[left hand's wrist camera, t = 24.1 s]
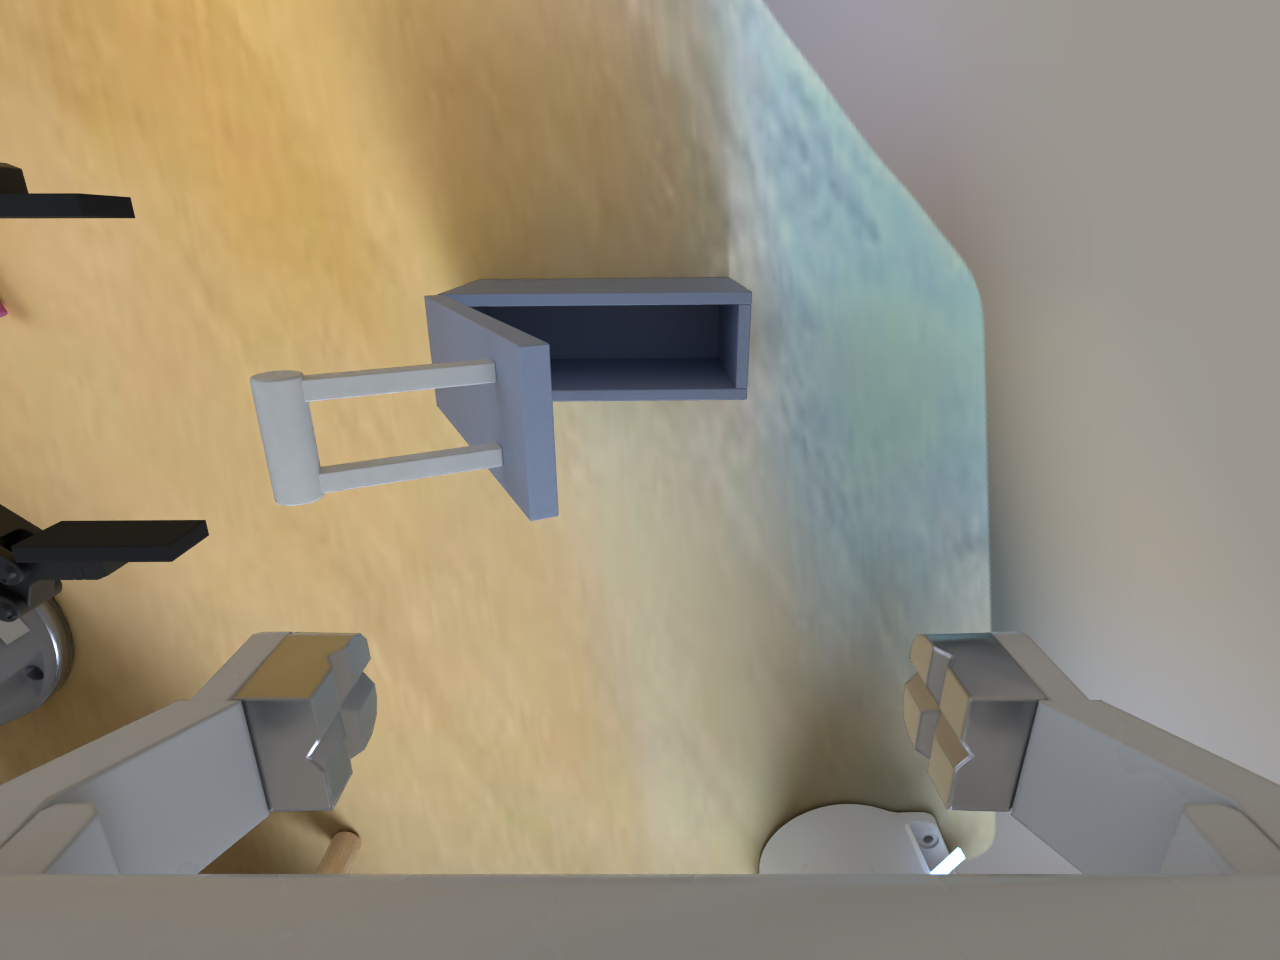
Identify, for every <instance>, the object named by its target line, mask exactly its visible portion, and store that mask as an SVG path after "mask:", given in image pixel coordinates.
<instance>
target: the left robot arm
mask: <svg viewBox="0 0 1280 960" xmlns="http://www.w3.org/2000/svg"><path fill="white" fill-rule="evenodd" d="M370 659H371V658H370V653H369V648H368V643H367V639H366V638H365V637H364V636H363V635H362V634H361V633H317V632H294V633H293V632H260V633H256V634H253V635H252V636H251V637H250V638H249V639H248V640H247V641H246V642H245V643H244V644H243V645H242V646H241V647H240V648H239V650H238V651H237V652H236V653H235V654H234V655H233V656H232V657H231V658H230V659H229V660H228V661H227V662H226V663H225V664H224V665H223V666H222V667H221V668H220V670H219V671H218V672H217V673H216V674H215V675H214V676H213V677H212V678H211V679H210V680H209V681H208V682H207V683H206V684H205V685H204V686H203V687H202V689H201V690H200V691H199V692H198V693H197V694H196V695H195V696H194V697H193V698H192V699H191V700H178V701H176V702H174V703H172V704H170V705H168V706H166V707H164V708H162V709H159V710H157V711H155V712H153V713H151V714H149V715H147V716H145V717H143V718H140V719H138V720H136V721H134V722H132V723H130V724H128V725H126V726H124V727H121V728H119V729H117V730H115V731H113V732H111V733H109V734H107V735H105V736H102V737H100V738H98V739H96V740H94V741H92V742H90V743H88V744H86V745H83V746H81V747H79V748H77V749H75V750H73V751H71V752H69V753H67V754H64V755H62V756H60V757H58V758H56V759H54V760H52V761H50V762H48V763H45V764H43V765H41V766H39V767H37V768H35V769H33V770H31V771H29V772H26V773H24V774H22V775H20V776H18V777H16V778H14V779H12V780H10V781H7V782H5V783H3V784H1V785H0V960H1280V785H1278V784H1276V783H1274V782H1272V781H1270V780H1268V779H1266V778H1264V777H1261V776H1259V775H1257V774H1255V773H1253V772H1251V771H1249V770H1247V769H1245V768H1243V767H1240V766H1238V765H1236V764H1234V763H1232V762H1230V761H1228V760H1226V759H1224V758H1222V757H1219V756H1217V755H1215V754H1213V753H1211V752H1209V751H1207V750H1205V749H1203V748H1200V747H1198V746H1196V745H1194V744H1192V743H1190V742H1188V741H1186V740H1184V739H1182V738H1179V737H1177V736H1175V735H1173V734H1171V733H1169V732H1167V731H1165V730H1163V729H1160V728H1158V727H1156V726H1154V725H1152V724H1150V723H1148V722H1146V721H1144V720H1141V719H1139V718H1137V717H1135V716H1133V715H1131V714H1129V713H1127V712H1125V711H1123V710H1120V709H1118V708H1116V707H1114V706H1112V705H1110V704H1108V703H1106V702H1104V701H1102V700H1089V699H1088V698H1087V697H1086V696H1085V695H1084V694H1083V693H1082V692H1081V691H1080V689H1079V688H1078V687H1077V686H1076V685H1075V684H1074V683H1073V682H1072V681H1071V680H1070V679H1069V678H1068V677H1067V676H1066V675H1065V674H1064V673H1063V672H1062V670H1061V669H1060V668H1059V667H1058V666H1057V665H1056V664H1055V663H1054V662H1053V661H1052V660H1051V659H1050V658H1049V657H1048V656H1047V655H1046V654H1045V653H1044V651H1043V650H1042V649H1041V648H1040V647H1039V646H1038V645H1037V644H1036V643H1035V642H1034V641H1033V640H1032V639H1031V638H1030V637H1029V636H1028V635H1026V634H1024V633H1022V632H1019V631H1015V632H988V633H962V634H917V635H916V637H915V639H914V641H913V643H912V646H911V652H910V657H909V659H910V660H911V662H912V664H913V665H914V667H915V669H916V670H917V672H916V673H915V674H914V675H913V676H912V677H911V678H910V679H909V681H908V682H907V683H906V684H905V689H904V697H903V711H904V722H905V725H906V729H907V732H908V735H909V738H910V740H911V742H912V744H913V746H914V748H915V749H916V750H917V751H919V752H920V753H922V754H923V755H924V756H926V757H927V758H929V759H930V761H929V767H928V775H929V777H930V778H931V780H932V782H933V784H934V786H935V788H936V790H937V792H938V793H939V795H940V797H941V799H942V801H943V803H944V805H945V807H946V808H947V810H963V811H999V812H1011V815H1012V816H1013V817H1014V818H1015V819H1016V820H1018V821H1019V822H1020V823H1021V824H1023V825H1024V826H1025V827H1026V828H1027V829H1029V830H1030V831H1031V832H1032V833H1034V834H1035V835H1036V836H1037V837H1038V838H1040V839H1041V840H1042V841H1043V842H1045V843H1046V844H1047V845H1048V846H1050V847H1051V848H1052V849H1053V850H1054V851H1056V852H1057V853H1058V854H1059V855H1061V856H1062V857H1063V858H1064V859H1065V860H1067V861H1068V862H1069V863H1070V864H1072V865H1073V866H1074V867H1075V868H1076V869H1078V870H1079V871H1080V872H1081V873H1083V874H958V873H957V871H956V868H955V867H956V866H957V865H958V864H959V863H960V862H961V861H962V860H964V859H965V856H964V855H963V853H962V851H961V849H960V848H957V849H955V850H954V851H953V852H952V853H951V854H949V851H948V849H947V847H946V844H945V842H944V839H943V837H942V835H941V832H940V830H939V827H938V825H937V822H936V820H935V818H934V817H933V816H932V815H931V814H929V813H925V812H902V813H896V812H891V811H887V810H883V809H880V808H877V807H873V806H868V805H861V804H837V805H830V806H825V807H821V808H817V809H814V810H811V811H808V812H806V813H804V814H801V815H799V816H797V817H796V818H794V819H792V820H791V821H789V822H788V823H786V824H785V825H784V826H782V827H781V828H780V829H779V830H778V831H777V832H776V833H775V834H774V835H773V836H772V837H771V839H770V840H769V841H768V843H767V844H766V846H765V848H764V850H763V853H762V855H761V859H760V864H759V874H198V873H199V872H200V871H201V870H203V869H204V868H205V867H206V866H207V865H209V864H210V863H211V862H212V861H214V860H215V859H216V858H217V857H218V856H220V855H221V854H222V853H223V852H225V851H226V850H227V849H228V848H230V847H231V846H232V845H233V844H234V843H236V842H237V841H238V840H239V839H241V838H242V837H243V836H244V835H245V834H247V833H248V832H249V831H250V830H252V829H253V828H254V827H255V826H257V825H258V824H259V823H260V822H261V821H263V820H264V819H265V818H266V817H268V816H269V812H280V811H315V810H333V809H334V807H335V805H336V803H337V801H338V799H339V797H340V795H341V794H342V792H343V790H344V788H345V786H346V784H347V782H348V780H349V778H350V777H351V775H352V767H351V761H350V759H351V758H353V757H354V756H356V755H357V754H358V753H360V752H361V751H363V750H364V749H365V748H366V746H367V744H368V742H369V740H370V738H371V735H372V733H373V728H374V724H375V720H376V715H377V695H376V688H375V684H374V683H373V682H372V681H371V679H370V678H369V677H368V676H367V675H366V674H365V673H364V672H363V670H364V669H365V667H366V665H367V664H368V662H369V661H370Z"/></svg>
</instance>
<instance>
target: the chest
mask: <svg viewBox="0 0 1280 960" xmlns="http://www.w3.org/2000/svg"><path fill="white" fill-rule="evenodd" d="M438 295H444V296H446V297H449V298H451V299H453V300H455V301H457V302H460V303H462V304H464V305H466V306H468V307H470V308H473V309H475V310H477V311H479V312H481V313H483V314H486V315H488V316H490V317H492V318H494V319H496V320H499V321H501V322H503V323H505V324H507V325H509V326H512V327H514V328H516V329H518V330H520V331H523V332H525V333H527V334H529V335H531V336H533V337H536V338H538V339H540V340H542V341H544V342H546V343H549V349H550V368H551V386H552V401H650V400H746V399H747V383H748V362H749V341H750V319H751V300H752V292H751V291H750V290H748V289H746V288H745V287H743V286H742V285H740V284H739V283H737V282H735V281H734V280H732V279H731V278H729V277H701V278H588V279H479V280H476V281H474V282H471V283H468V284H465V285H462V286H460V287H457V288H454V289H451V290H449V291H446V292H443V293H440V294H438Z"/></svg>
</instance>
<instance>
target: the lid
mask: <svg viewBox="0 0 1280 960" xmlns="http://www.w3.org/2000/svg"><path fill="white" fill-rule="evenodd" d="M424 298H425V306H426V315H427V324H428V332H429V341H430V350H431V358H432V364H428V365H416V366H405V367H394V368H383V369H372V370H360V371H349V372H338V373H327V374H316V375H303V373H302V372H298V371H289V370H287V371H272V372H265V373H260V374H257V375H254V376H252V377H251V378H250V384H251V389H252V394H253V399H254V403H255V408H256V413H257V417H258V422H259V427H260V432H261V436H262V441H263V446H264V451H265V455H266V460H267V465H268V469H269V474H270V479H271V484H272V488H273V493H274V498H275V501H276V502H277V503H278V504H280V505H284V506H297V505H304V504H308V503H311V502H314V501H317V500H319V499H321V498H322V497H323V496H324V494H325V493H328V492H335V491H341V490H348V489H354V488H361V487H368V486H374V485H381V484H387V483H394V482H400V481H407V480H413V479H420V478H426V477H433V476H439V475H446V474H452V473H459V472H465V471H472V470H478V469H485V468H488V469H489V470H490V472H491V473H492V474H493V475H494V476H495V478H496V479H497V480H498V481H499V483H500V484H501V485H502V486H503V488H504V489H505V490H506V491H507V492H508V494H509V495H510V496H511V497H512V499H513V500H514V501H515V502H516V504H517V505H518V506H519V507H520V509H521V510H522V511H523V512H524V513H525V515H526V516H527V517H528V518H529V520H530V521H534V520H540V519H545V518H550V517H555V516H558V495H557V477H556V459H555V441H554V422H553V404H552V386H551V368H550V349H549V343H546V342H544V341H542V340H540V339H538V338H536V337H533V336H531V335H529V334H527V333H525V332H523V331H520V330H518V329H516V328H514V327H512V326H509V325H507V324H505V323H503V322H501V321H499V320H496V319H494V318H492V317H490V316H488V315H486V314H483V313H481V312H479V311H477V310H475V309H473V308H470V307H468V306H466V305H464V304H462V303H460V302H457V301H455V300H453V299H451V298H449V297H446V296H444V295H433V296H425V297H424ZM427 389H435V393H436V402H437V406H438V407H439V409H440V410H441V411H442V412H443V414H444V415H445V416H446V417H447V418H448V420H449V421H450V422H451V423H452V425H453V426H454V427H455V428H456V430H457V431H458V432H459V433H460V435H461V436H462V437H463V438H464V439H465V441H466V442H467V443H468V444H469V447H461V448H454V449H447V450H440V451H433V452H425V453H418V454H411V455H404V456H397V457H389V458H382V459H375V460H368V461H361V462H353V463H346V464H339V465H332V466H325V467H320V462H319V456H318V451H317V445H316V440H315V434H314V429H313V423H312V418H311V412H310V407H309V402H311V401H321V400H330V399H340V398H350V397H359V396H369V395H379V394H388V393H398V392H408V391H417V390H427Z"/></svg>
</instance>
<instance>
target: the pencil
mask: <svg viewBox="0 0 1280 960" xmlns="http://www.w3.org/2000/svg"><path fill="white" fill-rule="evenodd" d="M5 315H7V311H6V309H5V308H4V306H3V305H2V304H1V302H0V317H3V316H5Z"/></svg>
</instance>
